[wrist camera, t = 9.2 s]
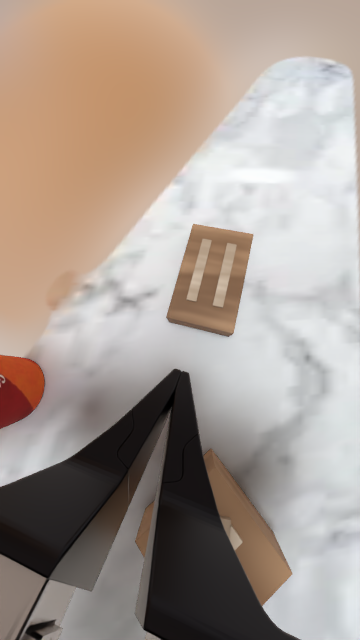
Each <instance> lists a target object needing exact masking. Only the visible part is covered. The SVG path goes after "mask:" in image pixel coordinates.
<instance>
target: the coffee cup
mask: <svg viewBox="0 0 360 640" xmlns="http://www.w3.org/2000/svg"><path fill="white" fill-rule="evenodd" d="M43 392H44V375H43V372H42V370H41V368H40V367H39V366H38V364H36V363H35V362H34V361H32V360H30V359H26V358H21V357H13V356H3V355H0V429H1V428H3V427H6V426H8V425H10V424H13V423H15V422H17V421H19V420H21V419H23V418H25V417H26V416H28V415H29V414H30V413H31V412H32V411H33V410H34V409H35V408H36V407H37V405H38V404H39V402H40V400H41V398H42V395H43Z"/></svg>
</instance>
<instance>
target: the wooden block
mask: <svg viewBox="0 0 360 640" xmlns="http://www.w3.org/2000/svg"><path fill="white" fill-rule="evenodd" d="M252 239H253V234H249V233H243V232H237V231H231V230H225V229H220V228H214V227H208V226H202V225H196V224H193V226H192V230H191V233H190V237H189V240H188V244H187V247H186V251H185V254H184V257H183V261H182V264H181V268H180V271H179V275H178V278H177V282H176V285H175V289H174V292H173V296H172V299H171V303H170V306H169V310H168V313H167V317H166V318H167V319H168V321H169V322H171V323H175V324H180V325H184V326H188V327H192V328H196V329H200V330H204V331H208V332H212V333H216V334H220V335H224V336H228V337H229V336H230V335H232V334H233V333H234V328H235V323H236V318H237V313H238V308H239V303H240V298H241V293H242V288H243V283H244V279H245V274H246V269H247V264H248V259H249V254H250V249H251V244H252Z"/></svg>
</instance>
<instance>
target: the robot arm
mask: <svg viewBox="0 0 360 640" xmlns="http://www.w3.org/2000/svg"><path fill="white" fill-rule="evenodd" d="M171 407H172V408H171ZM170 410H171V412H170ZM169 413H170V418H169V423H168V429H167V435H166V440H165V446H164V452H163V457H162V463H161V468H160V474H159V480H158V485H157V491H156V497H155V502H154V508H153V513H152V519H151V525H150V530H149V536H148V542H147V547H146V553H145V558H144V564H143V570H142V575H141V581H140V587H139V592H138V598H137V603H136V609H135V615H136V617H137V619H138V621H139V622H140V624H141V626H142V628H143V629H144V630H145V631H146V637H145V640H300V639H298V638H296V637H294V636H292V635H290V634H288V633H286V632H284V631H282V630H281V629H280V628H278V627H277V626H276V625H275V624H274V623H273V622H272V620H271V619H270V618H269V616H268V615H267V614H266V612H265V611H264V609H263V607H262V606H261V604H260V602H259V600H258V598H257V596H256V594H255V592H254V590H253V588H252V585H251V583H250V581H249V579H248V577H247V575H246V573H245V571H244V569H243V567H242V565H241V562H240V560H239V558H238V556H237V554H236V552H235V550H234V548H233V546H232V544H231V542H230V539H229V537H228V535H227V533H226V531H225V529H224V526H223V523H222V521H221V518H220V515H219V512H218V508H217V505H216V501H215V498H214V494H213V491H212V487H211V484H210V480H209V476H208V473H207V469H206V465H205V461H204V457H203V452H202V447H201V442H200V436H199V430H198V424H197V418H196V412H195V406H194V400H193V394H192V388H191V382H190V376H189V373H188V372H184V371H182V372H181V370H178V369H174V370H173V371H172V372H171V373H169V374H168V375H167V376H166V377H165V378H164V379H163V380H162V381H161V382H160V383H159V384H158V385H157V386H156V387H155V388H154V389H152V390H151V391H150V392H149V393H148V394H147V395H146V396H145V397H144V398H143V399H142V400H141V401H140V402H139V403H138V404H136V405H135V406H134V407H133V408H132V410H130V411H129V412H128V413H127V414H126V415H125V416H124V417H122V418H121V419H120V420H119V421H118V422H117V423H116V424H114V425H113V426H112V427H111V428H109V429H108V430H107V431H105V432H104V433H103V434H102V435H100V436H99V437H98V438H96V439H95V440H94V441H92V442H91V443H90V444H88V445H87V446H86V447H84V448H83V449H82V450H80V451H79V452H78V453H76V454H75V455H73V456H72V457H70V458H68V459H67V460H65V461H63V462H60V463H58V464H56V465H53V466H51V467H49V468H46V469H44V470H41V471H39V472H37V473H34V474H32V475H29V476H27V477H25V478H22V479H20V480H17V481H15V482H12V483H10V484H7V485H5V486H2V487H0V640H58V639H59V637H60V634H61V632H62V629H63V628H61V627H60V624H61V622H62V620H63V617H64V615H65V612H66V610H67V608H68V605H69V603H70V601H71V598H72V596H73V594H74V591H75V589H76V587H77V588H81V589H84V590H88V591H92V590H93V588H94V585H95V583H96V581H97V578H98V576H99V574H100V571H101V569H102V567H103V565H104V562H105V560H106V558H107V555H108V553H109V551H110V548H111V546H112V544H113V542H114V539H115V537H116V535H117V532H118V530H119V528H120V526H121V523H122V521H123V519H124V516H125V514H126V512H127V509H128V507H129V505H130V502H131V500H132V498H133V496H134V493H135V491H136V489H137V486H138V484H139V482H140V480H141V477H142V475H143V473H144V470H145V468H146V466H147V463H148V461H149V459H150V457H151V454H152V452H153V450H154V447H155V445H156V443H157V440H158V438H159V436H160V434H161V431H162V429H163V427H164V424H165V422H166V420H167V417H168V415H169Z"/></svg>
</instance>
